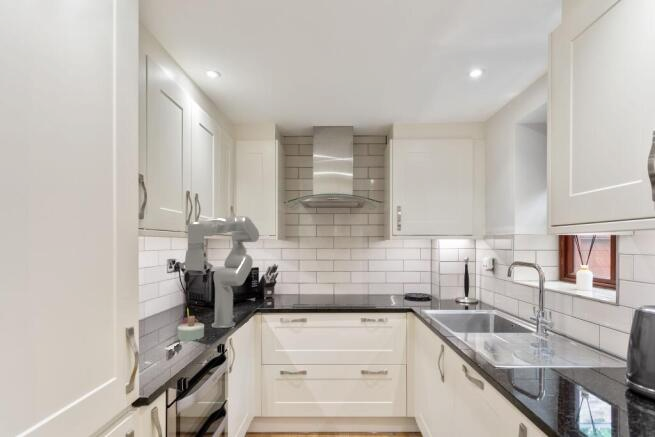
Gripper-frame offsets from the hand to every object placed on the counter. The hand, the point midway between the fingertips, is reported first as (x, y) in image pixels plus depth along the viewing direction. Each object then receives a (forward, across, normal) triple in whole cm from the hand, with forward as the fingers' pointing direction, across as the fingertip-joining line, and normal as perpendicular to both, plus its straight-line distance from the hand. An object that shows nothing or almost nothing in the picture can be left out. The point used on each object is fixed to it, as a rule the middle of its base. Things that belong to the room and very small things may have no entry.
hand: (196, 282), depth 175 cm
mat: (+26, -3, +17) cm, 31 cm away
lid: (+22, +1, +3) cm, 22 cm away
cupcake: (+27, +9, -9) cm, 30 cm away
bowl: (+27, +1, +3) cm, 27 cm away
